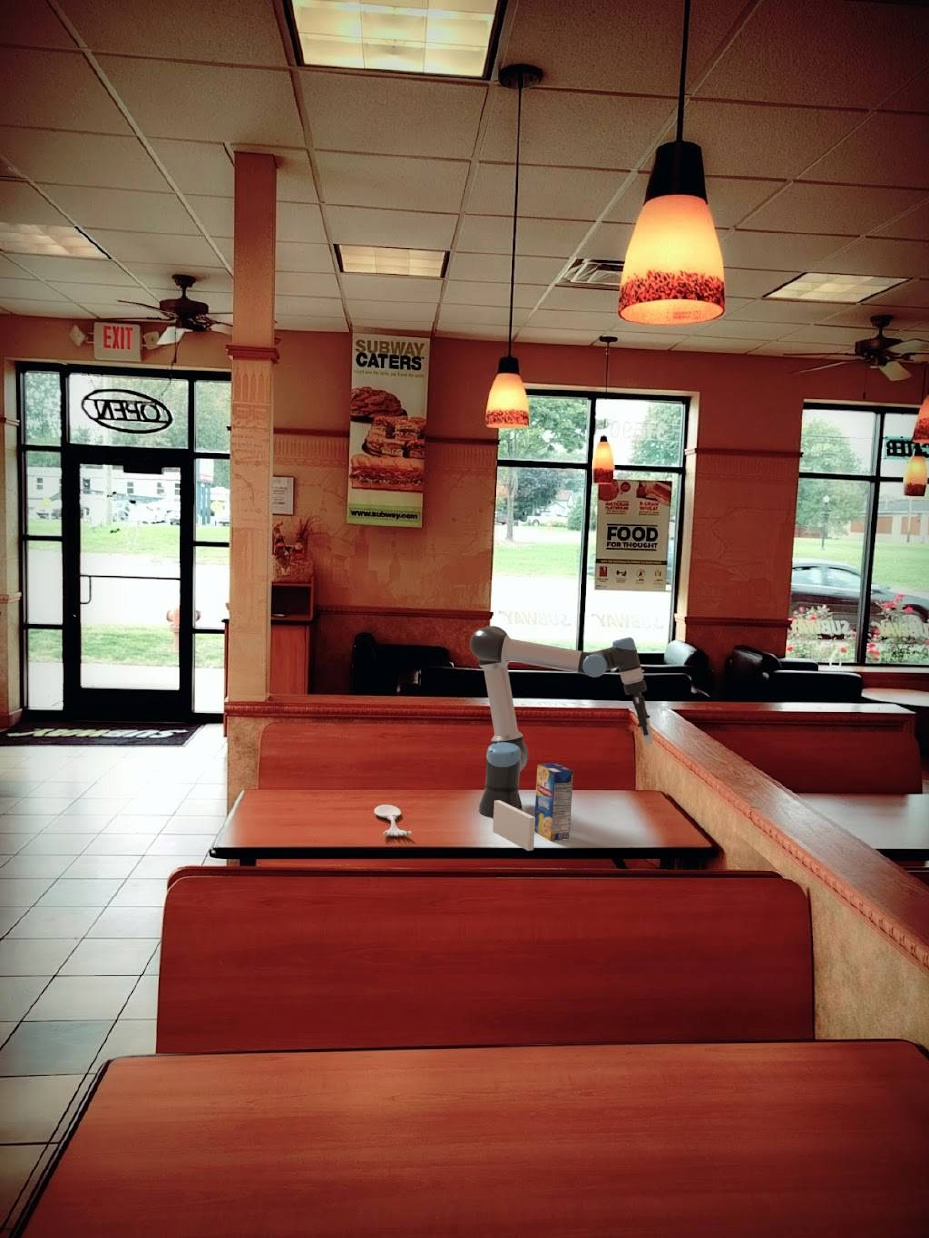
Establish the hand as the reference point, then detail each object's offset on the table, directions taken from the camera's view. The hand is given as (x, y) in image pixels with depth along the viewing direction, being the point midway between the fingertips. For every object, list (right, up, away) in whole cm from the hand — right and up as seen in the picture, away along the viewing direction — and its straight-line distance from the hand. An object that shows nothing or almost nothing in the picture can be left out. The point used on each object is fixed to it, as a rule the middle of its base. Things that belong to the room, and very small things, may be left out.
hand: (649, 740), depth 291 cm
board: (-49, -27, -30) cm, 63 cm away
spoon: (-88, -25, -21) cm, 94 cm away
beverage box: (-36, -27, -22) cm, 51 cm away
